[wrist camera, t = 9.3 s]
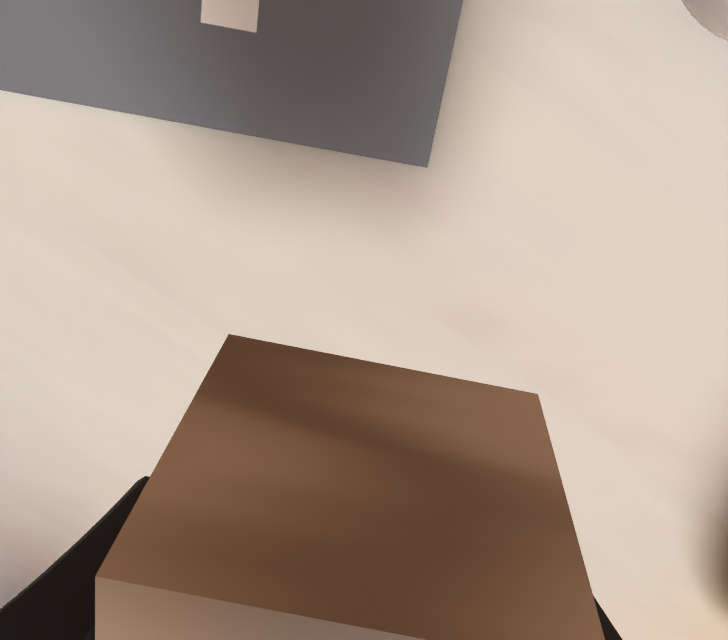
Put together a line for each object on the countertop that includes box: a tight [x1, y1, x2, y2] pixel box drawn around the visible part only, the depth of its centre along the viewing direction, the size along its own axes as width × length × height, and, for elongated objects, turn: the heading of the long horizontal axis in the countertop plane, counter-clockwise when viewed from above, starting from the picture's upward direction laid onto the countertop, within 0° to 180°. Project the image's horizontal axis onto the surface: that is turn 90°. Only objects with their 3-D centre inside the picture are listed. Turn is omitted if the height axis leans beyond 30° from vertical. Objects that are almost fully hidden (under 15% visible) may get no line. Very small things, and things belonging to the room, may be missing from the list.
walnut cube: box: [95, 334, 605, 640], centre depth 10 cm, size 5×5×5 cm
